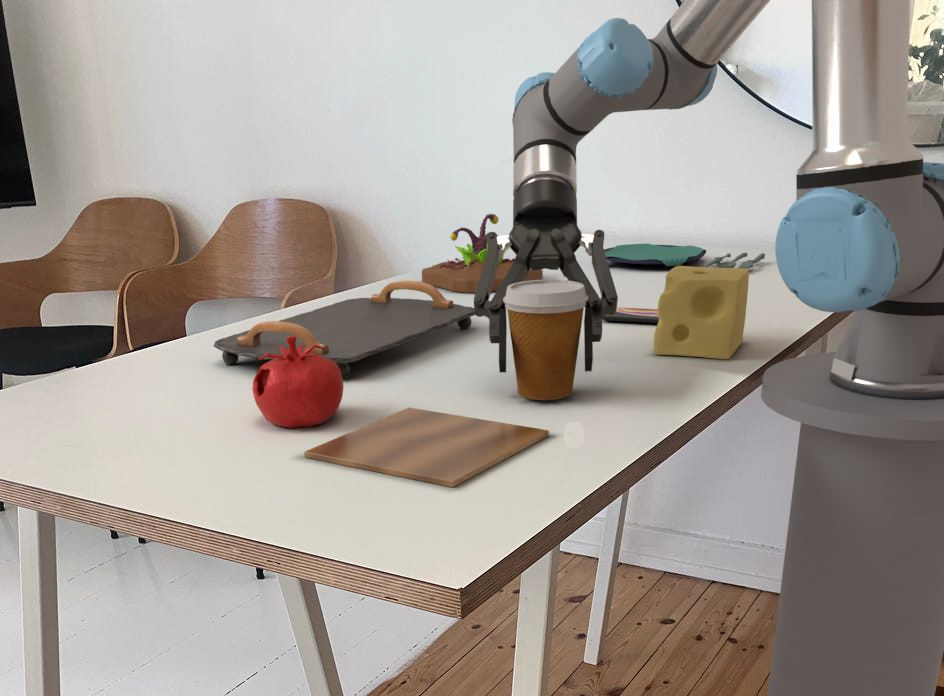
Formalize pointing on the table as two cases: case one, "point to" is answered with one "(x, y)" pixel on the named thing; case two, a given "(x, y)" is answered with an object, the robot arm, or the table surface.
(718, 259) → the cutlery set
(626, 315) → the smartphone
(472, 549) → the table surface
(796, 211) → the robot arm
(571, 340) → the disposable coffee cup
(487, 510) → the table surface
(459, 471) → the wooden board
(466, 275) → the plant
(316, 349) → the serving tray
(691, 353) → the cheese
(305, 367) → the pomegranate
